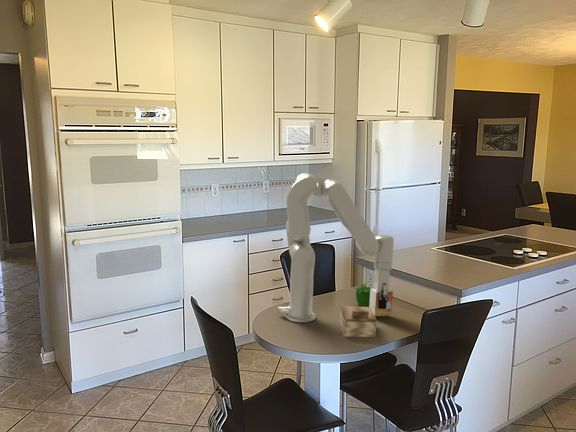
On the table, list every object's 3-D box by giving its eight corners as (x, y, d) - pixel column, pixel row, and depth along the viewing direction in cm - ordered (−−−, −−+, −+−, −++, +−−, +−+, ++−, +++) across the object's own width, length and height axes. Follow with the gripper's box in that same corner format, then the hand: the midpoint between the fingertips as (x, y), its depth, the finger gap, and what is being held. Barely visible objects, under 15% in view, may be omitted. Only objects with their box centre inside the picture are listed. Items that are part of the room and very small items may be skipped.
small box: (374, 316, 202) (375, 292, 200) (368, 312, 207) (370, 288, 206) (391, 315, 204) (393, 291, 203) (385, 310, 209) (386, 287, 208)
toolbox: (344, 336, 184) (344, 321, 183) (339, 322, 198) (340, 308, 197) (375, 337, 184) (376, 322, 183) (369, 323, 198) (369, 309, 197)
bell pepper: (377, 307, 218) (378, 285, 217) (361, 309, 215) (362, 287, 214) (367, 301, 226) (369, 280, 224) (352, 303, 223) (353, 282, 221)
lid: (344, 320, 183) (345, 312, 182) (340, 308, 197) (341, 300, 196) (376, 321, 183) (376, 313, 183) (369, 308, 197) (370, 301, 196)
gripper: (370, 259, 211) (368, 298, 214) (378, 269, 194) (375, 312, 196) (387, 259, 211) (385, 299, 214) (396, 270, 194) (393, 312, 197)
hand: (380, 305), depth 205 cm, fingers closed on small box, 6 cm apart
